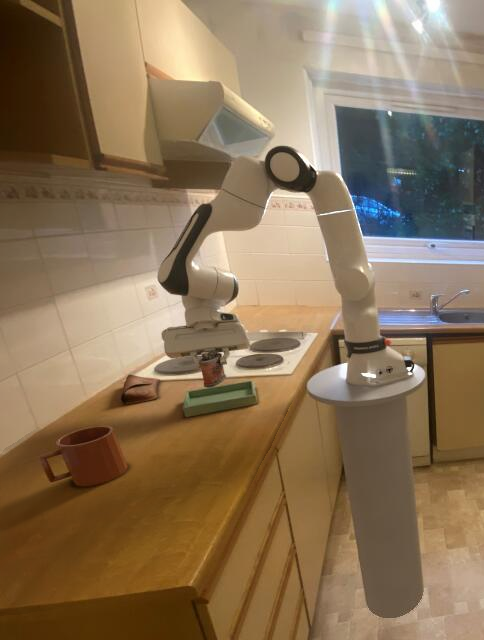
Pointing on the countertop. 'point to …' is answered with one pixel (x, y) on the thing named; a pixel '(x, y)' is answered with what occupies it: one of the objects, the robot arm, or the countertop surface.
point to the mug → (88, 456)
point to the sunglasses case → (139, 389)
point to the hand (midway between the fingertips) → (212, 365)
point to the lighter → (212, 368)
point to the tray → (219, 398)
